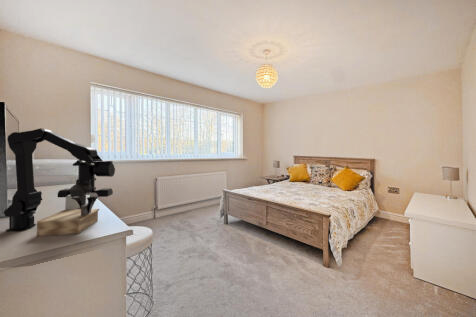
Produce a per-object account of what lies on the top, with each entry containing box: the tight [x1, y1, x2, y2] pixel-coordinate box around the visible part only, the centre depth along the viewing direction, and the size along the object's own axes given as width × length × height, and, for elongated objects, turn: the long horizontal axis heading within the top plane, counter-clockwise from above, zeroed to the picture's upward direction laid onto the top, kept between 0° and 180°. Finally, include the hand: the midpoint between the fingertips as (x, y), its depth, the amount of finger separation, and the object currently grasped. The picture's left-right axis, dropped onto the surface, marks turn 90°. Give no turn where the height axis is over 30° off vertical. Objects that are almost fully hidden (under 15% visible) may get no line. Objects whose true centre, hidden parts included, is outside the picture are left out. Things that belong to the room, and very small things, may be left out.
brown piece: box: [36, 211, 99, 237], centre depth 88 cm, size 14×16×5 cm
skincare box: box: [64, 195, 81, 210], centre depth 98 cm, size 6×4×12 cm
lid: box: [36, 202, 100, 224], centre depth 88 cm, size 14×16×5 cm
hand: (86, 212), depth 89 cm, fingers closed on lid, 2 cm apart
